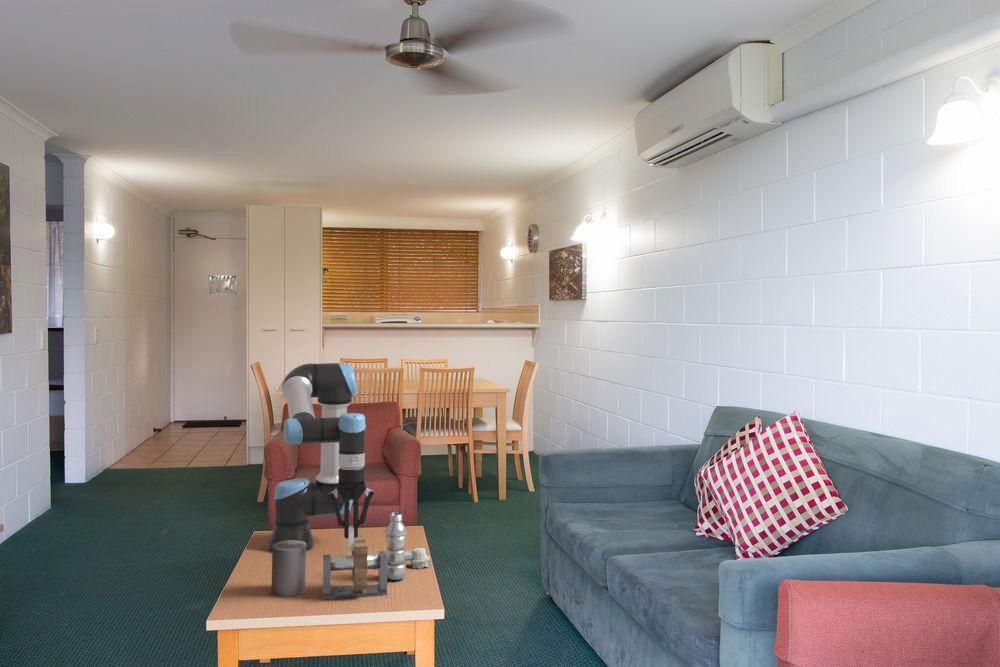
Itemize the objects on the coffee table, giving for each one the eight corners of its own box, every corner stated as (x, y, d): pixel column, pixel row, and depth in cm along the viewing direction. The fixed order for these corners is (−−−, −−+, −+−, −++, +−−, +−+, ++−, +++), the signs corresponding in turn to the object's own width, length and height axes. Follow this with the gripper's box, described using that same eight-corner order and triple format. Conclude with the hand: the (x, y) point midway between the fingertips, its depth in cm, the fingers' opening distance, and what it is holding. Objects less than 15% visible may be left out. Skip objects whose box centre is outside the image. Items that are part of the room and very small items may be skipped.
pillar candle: (264, 591, 226) (265, 540, 226) (293, 583, 234) (294, 533, 233) (283, 600, 220) (284, 547, 220) (312, 591, 227) (313, 540, 227)
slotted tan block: (351, 576, 231) (352, 536, 231) (363, 575, 232) (363, 535, 232) (354, 589, 220) (354, 547, 220) (367, 588, 221) (367, 546, 220)
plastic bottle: (395, 574, 243) (396, 510, 243) (410, 579, 239) (411, 513, 239) (380, 579, 238) (380, 514, 238) (395, 584, 234) (395, 517, 234)
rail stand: (322, 591, 227) (322, 553, 227) (384, 587, 231) (385, 549, 231) (323, 599, 220) (323, 560, 220) (387, 594, 225) (387, 556, 224)
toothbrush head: (350, 553, 252) (427, 542, 254) (353, 574, 252) (430, 562, 254) (349, 558, 247) (427, 546, 249) (351, 579, 247) (430, 567, 249)
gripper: (329, 470, 220) (328, 554, 220) (375, 469, 223) (374, 551, 223) (328, 465, 227) (327, 546, 227) (373, 464, 230) (372, 544, 230)
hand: (350, 548), depth 225 cm, fingers closed
